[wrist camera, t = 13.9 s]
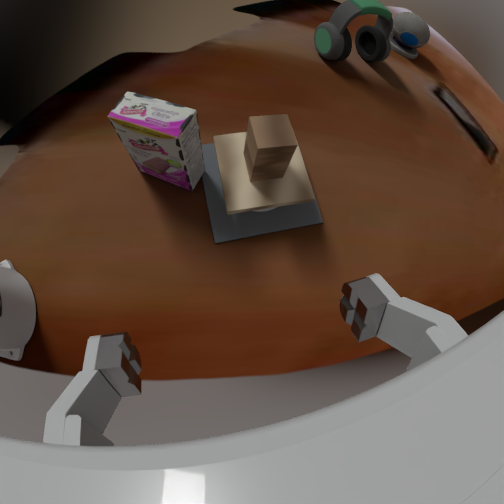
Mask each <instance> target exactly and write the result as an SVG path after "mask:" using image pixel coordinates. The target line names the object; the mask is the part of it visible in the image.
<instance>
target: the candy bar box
mask: <svg viewBox="0 0 504 504" xmlns="http://www.w3.org/2000/svg"><path fill="white" fill-rule="evenodd" d="M108 118H109V120H110V122H111V124H112V125H113V127H114V129H115V131H116V132H117V134H118V136H119V138H120V139H121V141H122V143H123V144H124V146H125V147H126V149H127V151H128V153H129V154H130V156H131V158H132V160H133V161H134V163H135V165H136V166H137V168H138V170H139V171H141V172H143V173H146V174H149V175H151V176H154V177H157V178H159V179H162V180H164V181H167V182H169V183H172V184H174V185H177V186H179V187H182V188H184V189H187V190H189V191H191V192H193V190H194V188H195V187H196V185H197V183H198V181H199V179H200V178H201V176H202V174H203V173H204V171H205V166H204V159H203V153H202V146H201V139H200V132H199V125H198V118H197V111H196V110H194V109H191V108H187V107H184V106H181V105H178V104H174V103H171V102H167V101H163V100H160V99H156V98H152V97H148V96H144V95H140V94H136V93H132V92H127V93H126V94H125V95H124V96H123V97H122V99H121V100H120V101H119V102H118V104H117V105H116V107H115V108H114V109H112V111H111V112H110V114H109V115H108Z"/></svg>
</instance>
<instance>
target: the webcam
mask: <svg viewBox="0 0 504 504" xmlns="http://www.w3.org/2000/svg"><path fill="white" fill-rule="evenodd" d="M392 32H393V33H392ZM392 32H391V34H390V36H389V40H390V43H391V48H392V49H393V50H394V51H396V52H397V53H399V54H401V55H403V56H405V57H407V58H410V59H415V58H416V57H417V56H418V50H417V49H416V48H419V47H422V46H424V45H425V44H426V43H427V42H428V40H429V37H430V31H429V27H428V25H427V24H426V22H425V21H424V20H423V19H422V18H421V17H419V16H418V15H416V14H414V13H410V12H402V13H399V14H397V15H396V16H395V17H394V18H393V28H392Z"/></svg>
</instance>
